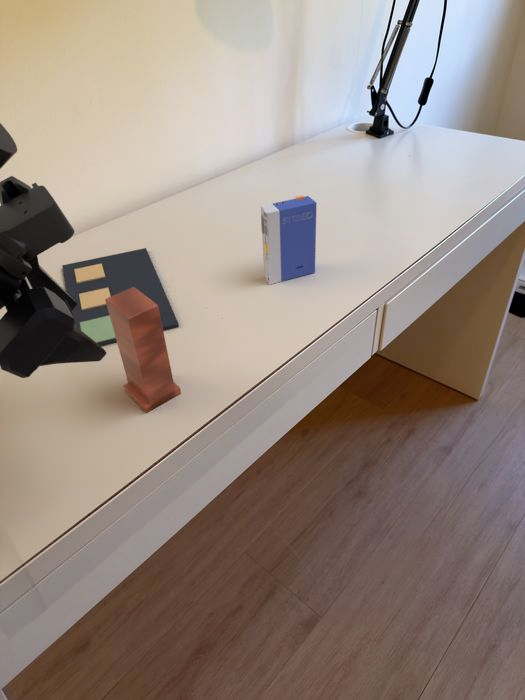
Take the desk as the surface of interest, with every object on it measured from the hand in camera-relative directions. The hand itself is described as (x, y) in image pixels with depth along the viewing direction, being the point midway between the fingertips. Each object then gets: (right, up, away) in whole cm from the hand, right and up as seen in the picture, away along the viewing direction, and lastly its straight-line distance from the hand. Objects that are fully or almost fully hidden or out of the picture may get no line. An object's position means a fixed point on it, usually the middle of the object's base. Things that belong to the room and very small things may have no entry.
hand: (87, 330), depth 51 cm
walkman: (+21, +10, +31) cm, 39 cm away
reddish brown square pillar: (+4, -7, +12) cm, 14 cm away
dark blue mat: (-5, +6, +29) cm, 30 cm away
